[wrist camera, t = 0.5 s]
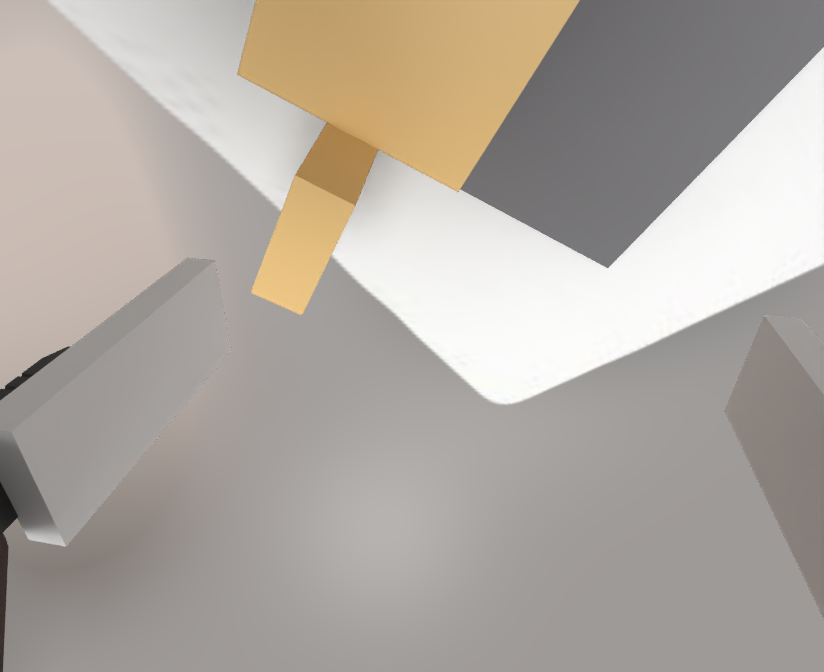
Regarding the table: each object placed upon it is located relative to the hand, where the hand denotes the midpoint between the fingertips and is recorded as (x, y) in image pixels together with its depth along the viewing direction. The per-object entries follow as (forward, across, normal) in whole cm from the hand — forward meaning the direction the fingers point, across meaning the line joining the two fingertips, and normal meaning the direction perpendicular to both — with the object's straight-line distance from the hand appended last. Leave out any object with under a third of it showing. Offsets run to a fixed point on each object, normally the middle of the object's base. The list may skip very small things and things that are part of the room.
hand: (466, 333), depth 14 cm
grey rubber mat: (+27, +7, +2) cm, 28 cm away
